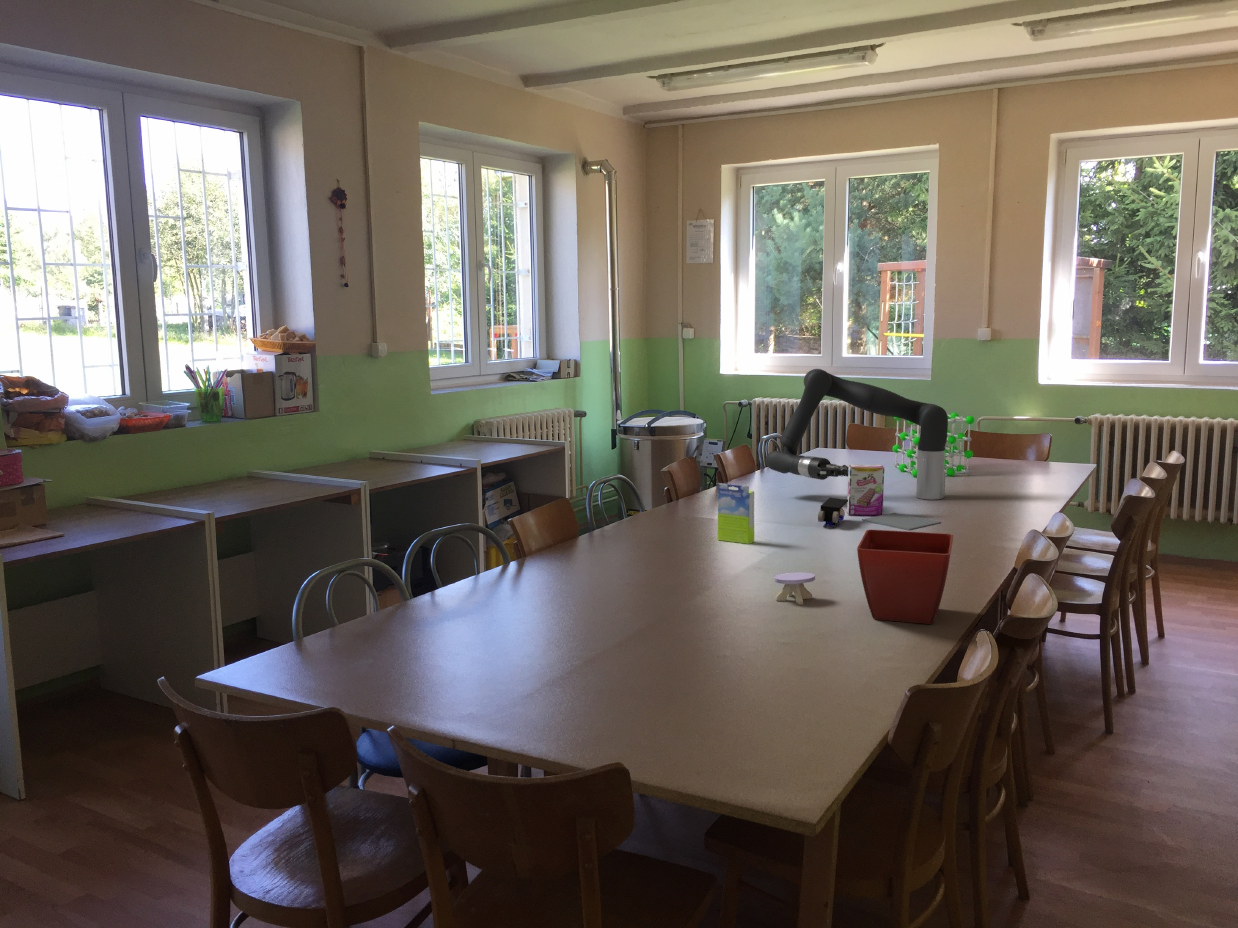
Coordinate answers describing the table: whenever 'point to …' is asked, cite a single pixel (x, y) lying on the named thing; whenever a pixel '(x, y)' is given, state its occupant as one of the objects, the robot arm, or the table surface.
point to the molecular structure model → (953, 449)
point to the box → (735, 514)
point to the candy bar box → (865, 490)
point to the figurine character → (832, 511)
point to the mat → (901, 521)
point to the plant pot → (904, 573)
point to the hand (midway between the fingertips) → (853, 473)
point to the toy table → (794, 586)
